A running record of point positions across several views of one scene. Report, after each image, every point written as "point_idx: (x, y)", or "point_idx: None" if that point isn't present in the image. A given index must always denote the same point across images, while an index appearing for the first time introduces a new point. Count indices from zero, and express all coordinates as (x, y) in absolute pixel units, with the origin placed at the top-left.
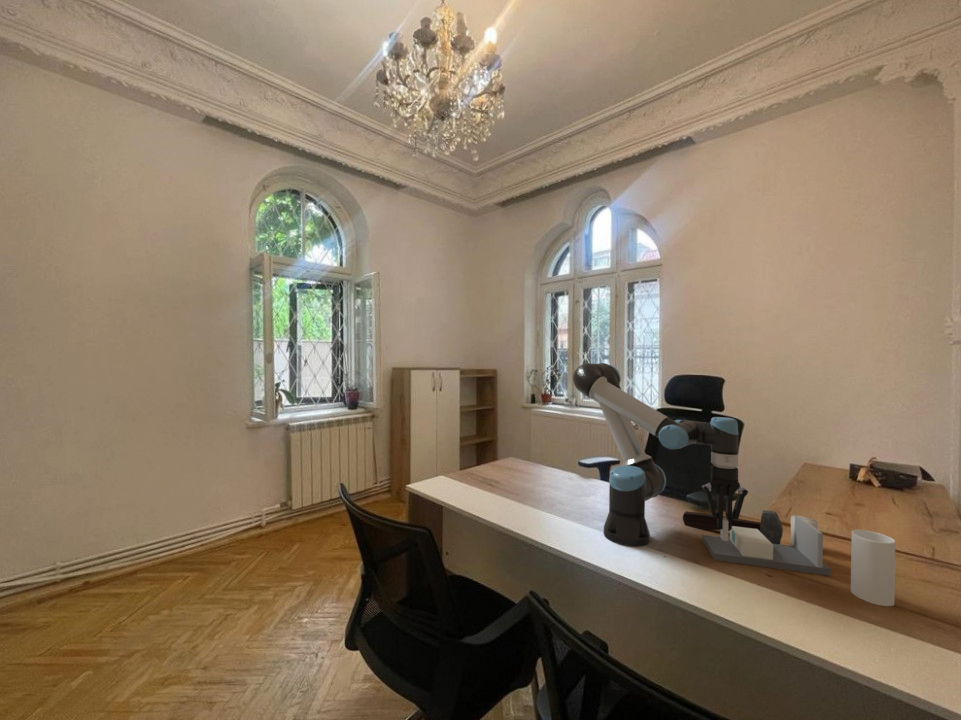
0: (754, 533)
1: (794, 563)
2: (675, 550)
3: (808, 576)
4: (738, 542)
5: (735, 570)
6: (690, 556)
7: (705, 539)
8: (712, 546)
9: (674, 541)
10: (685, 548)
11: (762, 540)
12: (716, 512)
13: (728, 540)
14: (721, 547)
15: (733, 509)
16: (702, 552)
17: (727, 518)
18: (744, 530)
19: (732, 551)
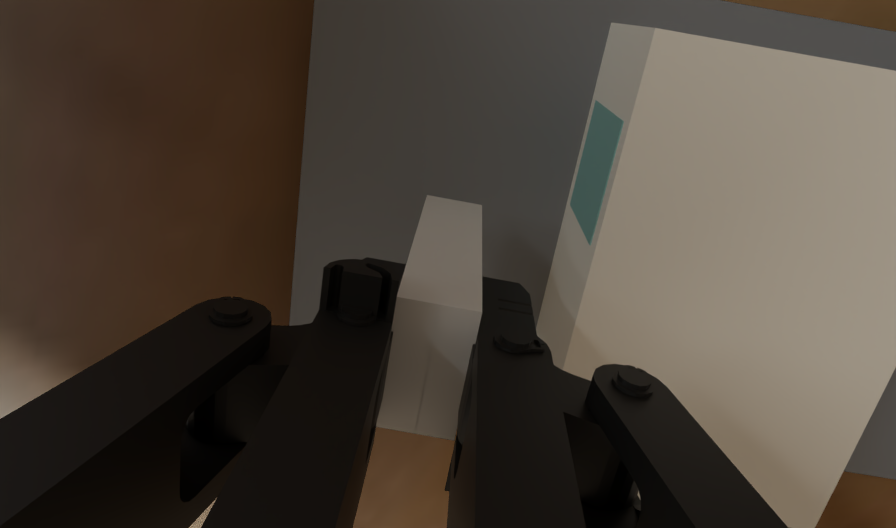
0: (840, 268)
1: (891, 465)
2: (12, 224)
3: (887, 495)
4: (552, 332)
5: (395, 475)
6: (122, 316)
7: (308, 77)
8: (322, 244)
9: (21, 13)
10: (108, 169)
11: (779, 446)
12: (285, 367)
13: (574, 62)
14: (404, 254)
15: (639, 464)
16: (245, 230)
17: (458, 421)
18: (769, 183)
19: None
